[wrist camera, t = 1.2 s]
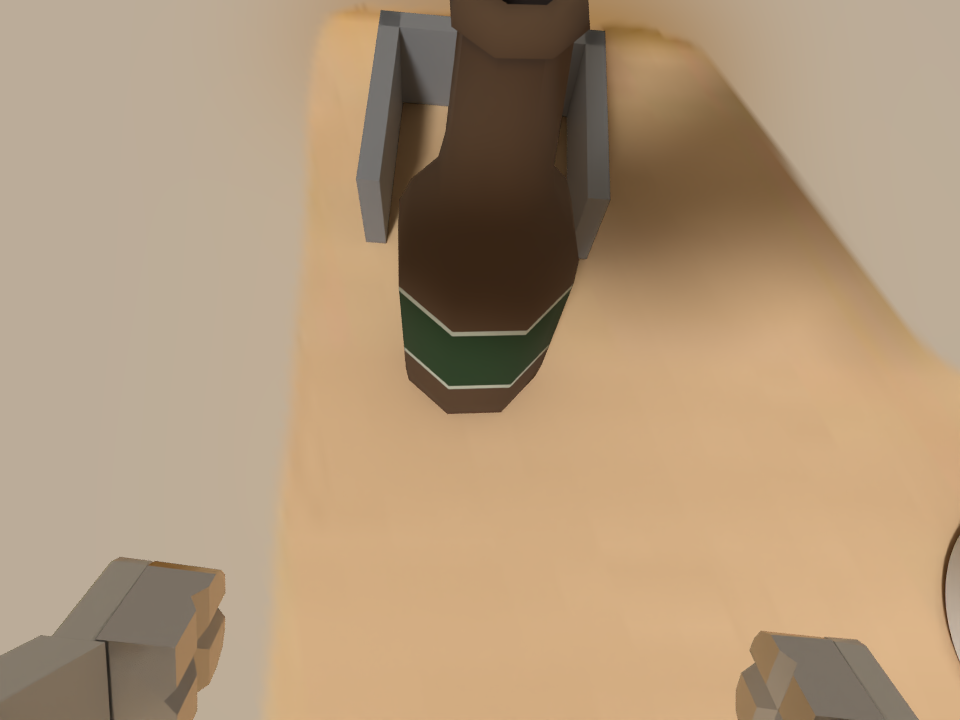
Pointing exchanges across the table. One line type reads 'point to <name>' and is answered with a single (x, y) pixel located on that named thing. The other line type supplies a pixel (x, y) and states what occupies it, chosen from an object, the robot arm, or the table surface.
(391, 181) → the bottle stall
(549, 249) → the beer bottle
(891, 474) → the table surface
